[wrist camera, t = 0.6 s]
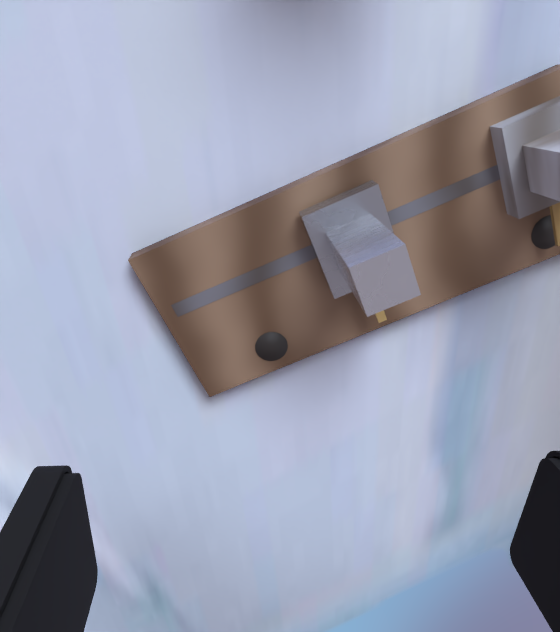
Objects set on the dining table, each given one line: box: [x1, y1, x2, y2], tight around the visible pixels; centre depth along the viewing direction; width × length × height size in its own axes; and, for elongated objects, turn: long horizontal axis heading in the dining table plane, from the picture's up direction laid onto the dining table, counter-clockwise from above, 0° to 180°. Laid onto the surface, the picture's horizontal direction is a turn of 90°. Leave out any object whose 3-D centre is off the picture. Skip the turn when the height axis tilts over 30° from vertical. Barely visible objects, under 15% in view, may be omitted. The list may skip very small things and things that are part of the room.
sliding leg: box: [299, 180, 421, 323], centre depth 29 cm, size 5×9×8 cm, turn 23°
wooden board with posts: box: [128, 65, 560, 397], centre depth 29 cm, size 30×12×10 cm, turn 113°
